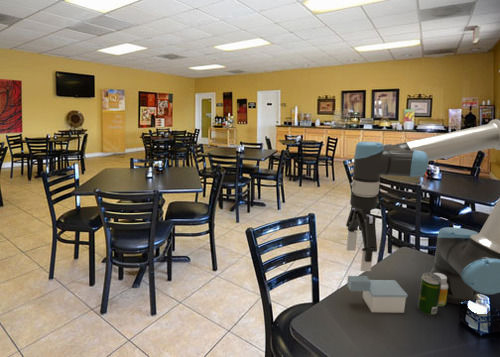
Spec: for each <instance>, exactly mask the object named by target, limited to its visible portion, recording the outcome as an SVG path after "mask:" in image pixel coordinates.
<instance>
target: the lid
mask: <svg viewBox="0 0 500 357" xmlns="http://www.w3.org/2000/svg"><path fill="white" fill-rule="evenodd" d="M346 285H347V287H348V288H349V291H350V292H363V291H369V292H370V294H371V295H372V297H406V298H408V293H407V292H406V291H405V290H404V289H403V287H401V286H400V284H399V283H398V282H397V281H396V280H395V279H390V280H389V279H369V276H367V275H347V284H346Z"/></svg>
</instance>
